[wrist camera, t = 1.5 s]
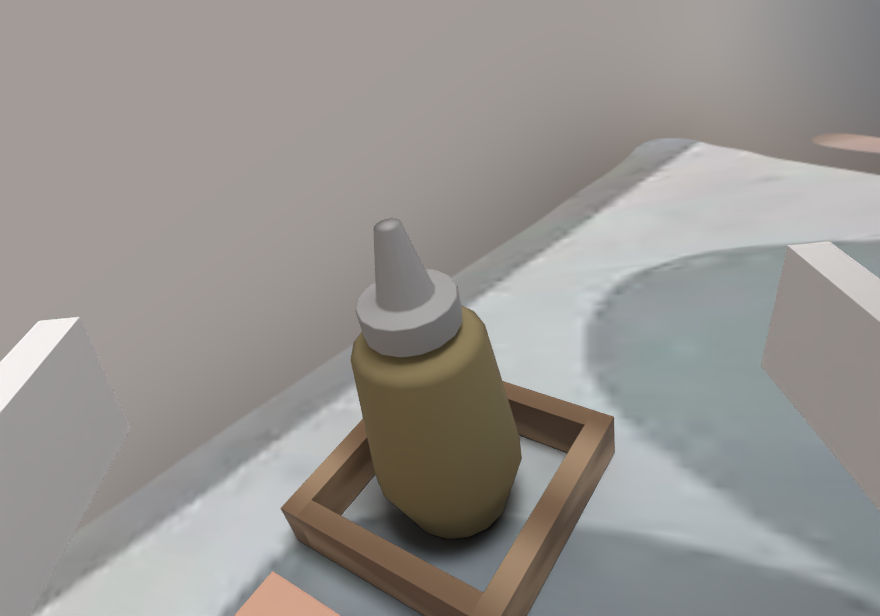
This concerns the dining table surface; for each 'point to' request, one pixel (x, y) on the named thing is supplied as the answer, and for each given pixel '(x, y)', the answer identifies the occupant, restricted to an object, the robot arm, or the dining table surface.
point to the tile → (282, 601)
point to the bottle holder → (425, 586)
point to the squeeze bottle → (431, 395)
